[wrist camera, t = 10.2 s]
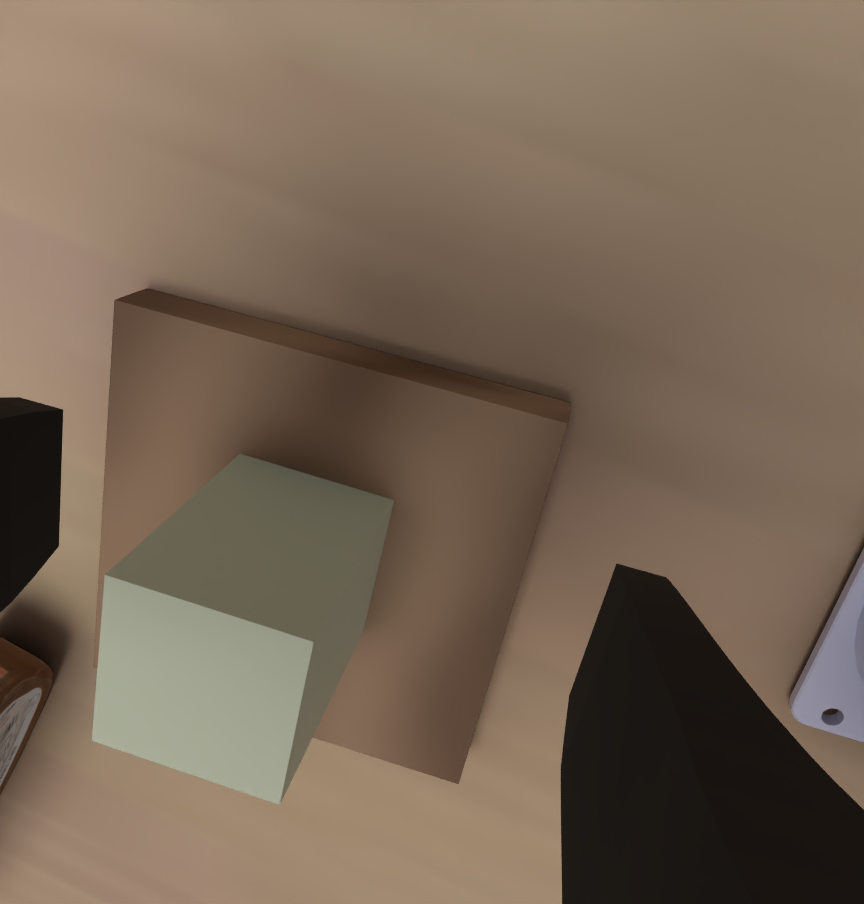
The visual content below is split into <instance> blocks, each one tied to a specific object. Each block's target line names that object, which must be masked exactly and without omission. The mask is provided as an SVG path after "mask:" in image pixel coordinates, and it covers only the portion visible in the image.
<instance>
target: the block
mask: <svg viewBox="0 0 864 904" xmlns="http://www.w3.org/2000/svg"><path fill="white" fill-rule="evenodd" d="M393 504H394V500H392V499H389V498H385V497H382V496H379V495H375V494H372V493H369V492H366V491H362V490H359V489H356V488H352V487H349V486H346V485H342V484H339V483H336V482H332V481H329V480H326V479H323V478H319V477H316V476H313V475H309V474H306V473H303V472H299V471H296V470H293V469H289V468H286V467H283V466H279V465H276V464H273V463H270V462H266V461H263V460H260V459H256V458H253V457H250V456H246V455H243V454H239V455H238V456H237V457H236V458H235V459H234V460H232V461H231V462H230V463H229V464H228V465H227V466H226V467H225V468H223V469H222V470H221V471H220V472H219V473H218V474H217V475H216V476H215V477H213V478H212V479H211V480H210V481H209V482H208V483H207V484H206V485H204V486H203V487H202V488H201V489H200V490H199V491H198V492H197V493H196V494H194V495H193V496H192V497H191V498H190V499H189V500H188V501H187V502H185V503H184V504H183V505H182V506H181V507H180V508H179V509H178V510H177V511H175V512H174V513H173V514H172V515H171V516H170V517H169V518H168V519H167V520H165V521H164V522H163V523H162V524H161V525H160V526H159V527H158V528H156V529H155V530H154V531H153V532H152V533H151V534H150V535H149V536H148V537H146V538H145V539H144V540H143V541H142V542H141V543H140V544H139V545H137V546H136V547H135V548H134V549H133V550H132V551H131V552H130V553H129V554H127V555H126V556H125V557H124V558H123V559H122V560H121V561H120V562H118V563H117V564H116V565H115V566H114V567H113V568H112V569H111V570H110V571H108V572H107V573H106V574H105V578H104V591H103V604H102V617H101V630H100V642H99V655H98V668H97V681H96V694H95V707H94V720H93V733H92V741H94V742H97V743H100V744H103V745H106V746H109V747H112V748H115V749H118V750H121V751H124V752H126V753H129V754H132V755H135V756H138V757H141V758H144V759H147V760H150V761H153V762H156V763H159V764H161V765H164V766H167V767H170V768H173V769H176V770H179V771H182V772H185V773H188V774H191V775H194V776H197V777H199V778H202V779H205V780H208V781H211V782H214V783H217V784H220V785H223V786H226V787H229V788H232V789H234V790H237V791H240V792H243V793H246V794H249V795H252V796H255V797H258V798H261V799H264V800H267V801H269V802H272V803H275V804H278V805H280V803H281V801H282V799H283V797H284V795H285V793H286V791H287V789H288V787H289V785H290V782H291V780H292V778H293V776H294V774H295V772H296V770H297V768H298V766H299V764H300V762H301V760H302V758H303V756H304V753H305V751H306V749H307V747H308V745H309V743H310V741H311V739H312V737H313V735H314V733H315V731H316V729H317V727H318V724H319V722H320V720H321V718H322V716H323V714H324V712H325V710H326V708H327V706H328V704H329V702H330V700H331V698H332V696H333V693H334V691H335V689H336V687H337V685H338V683H339V681H340V679H341V677H342V675H343V673H344V671H345V669H346V667H347V664H348V662H349V660H350V658H351V656H352V654H353V652H354V650H355V648H356V646H357V644H358V642H359V640H360V638H361V635H362V633H363V630H364V626H365V622H366V618H367V613H368V609H369V605H370V601H371V596H372V592H373V588H374V584H375V580H376V575H377V571H378V567H379V563H380V558H381V554H382V550H383V546H384V542H385V537H386V533H387V529H388V525H389V521H390V516H391V512H392V508H393Z"/></svg>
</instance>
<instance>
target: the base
mask: <svg viewBox="0 0 864 904" xmlns="http://www.w3.org/2000/svg"><path fill="white" fill-rule="evenodd" d="M570 406H571V403H569V402H566V401H562V400H558V399H554V398H551V397H547V396H543V395H540V394H536V393H532V392H529V391H525V390H521V389H517V388H514V387H510V386H506V385H503V384H499V383H495V382H492V381H488V380H484V379H480V378H477V377H473V376H469V375H466V374H462V373H458V372H455V371H451V370H447V369H443V368H440V367H436V366H432V365H429V364H425V363H421V362H418V361H414V360H410V359H406V358H403V357H399V356H395V355H392V354H388V353H384V352H380V351H377V350H373V349H369V348H366V347H362V346H358V345H355V344H351V343H347V342H343V341H340V340H336V339H332V338H329V337H325V336H321V335H318V334H314V333H310V332H306V331H303V330H299V329H295V328H292V327H288V326H284V325H281V324H277V323H273V322H269V321H266V320H262V319H258V318H255V317H251V316H247V315H244V314H240V313H236V312H232V311H229V310H225V309H221V308H218V307H214V306H210V305H207V304H203V303H199V302H195V301H192V300H188V299H184V298H181V297H177V296H173V295H170V294H166V293H162V292H158V291H155V290H151V289H144V290H141V291H138V292H135V293H133V294H130V295H127V296H124V297H121V298H119V299H116V300H115V301H114V319H113V336H112V353H111V370H110V388H109V405H108V422H107V439H106V457H105V474H104V491H103V508H102V526H101V543H100V560H99V578H98V595H97V612H96V629H95V647H94V664H93V667H95V668H98V655H99V642H100V630H101V617H102V604H103V591H104V578H105V574H106V573H107V572H108V571H110V570H111V569H112V568H113V567H114V566H115V565H116V564H117V563H118V562H120V561H121V560H122V559H123V558H124V557H125V556H126V555H127V554H129V553H130V552H131V551H132V550H133V549H134V548H135V547H136V546H137V545H139V544H140V543H141V542H142V541H143V540H144V539H145V538H146V537H148V536H149V535H150V534H151V533H152V532H153V531H154V530H155V529H156V528H158V527H159V526H160V525H161V524H162V523H163V522H164V521H165V520H167V519H168V518H169V517H170V516H171V515H172V514H173V513H174V512H175V511H177V510H178V509H179V508H180V507H181V506H182V505H183V504H184V503H185V502H187V501H188V500H189V499H190V498H191V497H192V496H193V495H194V494H196V493H197V492H198V491H199V490H200V489H201V488H202V487H203V486H204V485H206V484H207V483H208V482H209V481H210V480H211V479H212V478H213V477H215V476H216V475H217V474H218V473H219V472H220V471H221V470H222V469H223V468H225V467H226V466H227V465H228V464H229V463H230V462H231V461H232V460H234V459H235V458H236V457H237V456H238V455H239V454H243V455H246V456H250V457H253V458H256V459H260V460H263V461H266V462H270V463H273V464H276V465H279V466H283V467H286V468H289V469H293V470H296V471H299V472H303V473H306V474H309V475H313V476H316V477H319V478H323V479H326V480H329V481H332V482H336V483H339V484H342V485H346V486H349V487H352V488H356V489H359V490H362V491H366V492H369V493H372V494H375V495H379V496H382V497H385V498H389V499H392V500H394V504H393V508H392V512H391V516H390V521H389V525H388V529H387V533H386V537H385V542H384V546H383V550H382V554H381V558H380V563H379V567H378V571H377V575H376V580H375V584H374V588H373V592H372V596H371V601H370V605H369V609H368V613H367V618H366V622H365V626H364V630H363V633H362V635H361V638H360V640H359V642H358V644H357V646H356V648H355V650H354V652H353V654H352V656H351V658H350V660H349V662H348V664H347V667H346V669H345V671H344V673H343V675H342V677H341V679H340V681H339V683H338V685H337V687H336V689H335V691H334V693H333V696H332V698H331V700H330V702H329V704H328V706H327V708H326V710H325V712H324V714H323V716H322V718H321V720H320V722H319V724H318V727H317V729H316V731H315V733H314V735H313V738H316V739H320V740H323V741H326V742H329V743H332V744H335V745H338V746H341V747H344V748H348V749H351V750H354V751H357V752H360V753H363V754H366V755H369V756H372V757H376V758H379V759H382V760H385V761H388V762H391V763H394V764H397V765H401V766H404V767H407V768H410V769H413V770H416V771H419V772H422V773H425V774H429V775H432V776H435V777H438V778H441V779H444V780H447V781H450V782H453V783H457V784H459V781H460V778H461V774H462V771H463V768H464V764H465V761H466V758H467V755H468V751H469V748H470V745H471V741H472V738H473V735H474V732H475V728H476V725H477V722H478V718H479V715H480V712H481V708H482V705H483V702H484V699H485V695H486V692H487V689H488V685H489V682H490V679H491V676H492V672H493V669H494V666H495V662H496V659H497V656H498V653H499V649H500V646H501V643H502V639H503V636H504V633H505V630H506V626H507V623H508V620H509V616H510V613H511V610H512V607H513V603H514V600H515V597H516V593H517V590H518V587H519V584H520V580H521V577H522V574H523V570H524V567H525V564H526V561H527V557H528V554H529V551H530V547H531V544H532V541H533V538H534V534H535V531H536V528H537V524H538V521H539V518H540V515H541V511H542V508H543V505H544V501H545V498H546V495H547V492H548V488H549V485H550V482H551V478H552V475H553V472H554V469H555V465H556V462H557V459H558V455H559V452H560V449H561V446H562V442H563V439H564V436H565V432H566V429H567V426H568V421H569V414H570Z"/></svg>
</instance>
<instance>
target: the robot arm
mask: <svg viewBox="0 0 864 904" xmlns="http://www.w3.org/2000/svg"><path fill="white" fill-rule="evenodd" d="M62 426H63V410H62V409H59V408H55V407H52V406H48V405H44V404H41V403H37V402H34V401H30V400H26V399H23V398H19V397H17V398H0V612H1V611H2V610H4V609H5V608H6V607H7V606H8V605H9V604H10V603H11V602H12V601H13V600H14V599H15V597H16V596H17V595H18V594H19V593H20V592H21V591H22V590H23V588H24V587H25V586H26V585H27V584H28V583H29V582H30V581H31V579H32V578H33V577H34V576H35V575H36V573H37V572H38V571H39V570H40V569H41V567H42V566H43V565H44V564H45V562H46V561H47V560H48V559H49V557H50V556H51V555H52V554H53V553H54V551H55V550H56V549H57V548H58V546H59V522H60V490H61V458H62ZM789 705H790V708H791V712H792V715H793V717H794V718H795V719H796V720H797V721H798V722H800V723H802V724H804V725H807V726H810V727H813V728H817V729H820V730H823V731H827V732H830V733H833V734H837V735H840V736H843V737H847V738H850V739H853V740H857V741H860V742H863V743H864V548H863V550H862V552H861V554H860V556H859V558H858V560H857V563H856V565H855V567H854V569H853V571H852V573H851V575H850V577H849V579H848V581H847V583H846V585H845V587H844V589H843V591H842V593H841V595H840V597H839V599H838V601H837V603H836V605H835V607H834V609H833V611H832V613H831V615H830V617H829V619H828V621H827V623H826V625H825V627H824V629H823V631H822V633H821V635H820V637H819V639H818V641H817V643H816V645H815V647H814V649H813V651H812V653H811V655H810V657H809V659H808V661H807V663H806V666H805V668H804V670H803V672H802V674H801V676H800V678H799V680H798V682H797V684H796V686H795V688H794V690H793V692H792V694H791V696H790V700H789ZM831 708H833V709H838V710H839V711H838V712H837V713H836V714H833V715H824V714H822V713H823V712H824V711H825V710H828V709H831ZM561 845H562V904H864V810H863V809H862V808H861V807H860V806H859V805H858V804H857V803H856V802H855V801H854V800H853V799H852V798H851V797H850V796H849V795H848V794H847V793H846V792H845V791H844V790H843V789H842V788H841V787H840V786H839V785H838V784H837V783H836V782H835V781H834V780H833V779H832V778H831V777H830V776H829V775H828V774H827V773H826V772H825V771H824V770H823V769H822V768H821V767H820V766H819V765H818V764H817V763H816V761H815V760H814V759H813V758H812V757H811V756H810V755H809V754H808V753H807V752H806V751H805V749H804V748H803V747H802V746H801V745H800V744H799V743H798V742H797V740H796V739H795V738H794V737H793V736H792V735H791V734H790V732H789V731H788V730H787V729H786V728H785V727H784V726H783V725H782V723H781V722H780V721H779V720H778V719H777V718H776V717H775V715H774V714H773V713H772V712H771V711H770V710H769V708H768V707H767V706H766V705H765V704H764V702H763V701H762V700H761V699H760V698H759V696H758V695H757V694H756V693H755V691H754V690H753V689H752V688H751V687H750V685H749V684H748V683H747V682H746V680H745V679H744V678H743V677H742V675H741V674H740V673H739V671H738V670H737V669H736V668H735V666H734V665H733V664H732V662H731V661H730V660H729V659H728V657H727V656H726V655H725V653H724V652H723V651H722V649H721V648H720V647H719V645H718V644H717V643H716V641H715V640H714V639H713V637H712V636H711V635H710V633H709V632H708V631H707V629H706V628H705V627H704V625H703V624H702V623H701V621H700V620H699V619H698V617H697V616H696V615H695V613H694V612H693V610H692V609H691V608H690V606H689V605H688V604H687V602H686V601H685V600H684V598H683V597H682V596H681V594H680V593H679V592H678V591H677V589H676V588H675V587H674V586H673V584H672V583H671V582H670V581H669V580H668V579H667V578H666V577H663V576H659V575H655V574H652V573H648V572H645V571H641V570H637V569H634V568H630V567H627V566H623V565H620V564H616V567H615V569H614V572H613V575H612V578H611V581H610V583H609V586H608V589H607V592H606V595H605V597H604V600H603V603H602V606H601V609H600V611H599V614H598V617H597V620H596V623H595V625H594V628H593V631H592V634H591V637H590V639H589V642H588V645H587V648H586V651H585V653H584V656H583V659H582V662H581V664H580V667H579V670H578V673H577V676H576V678H575V681H574V684H573V687H572V690H571V692H570V695H569V703H568V711H567V719H566V727H565V735H564V744H563V753H562V762H561Z"/></svg>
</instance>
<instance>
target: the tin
mask: <svg viewBox="0 0 864 904" xmlns="http://www.w3.org/2000/svg"><path fill="white" fill-rule="evenodd" d="M52 681H53V672H52V670H51V669H50V667H49V666H48V665H47V664H45V663H44V662H43V661H41V660H40V659H38V658H37V657H35V656H33V655H32V654H30V653H28V652H27V651H25V650H23V649H21V648H19V647H18V646H16V645H14V644H12V643H10V642H9V641H7V640H5V639H3V638H1V637H0V793H1V791H2V789H3V787H4V786H5V784H6V782H7V780H8V778H9V776H10V774H11V772H12V770H13V768H14V766H15V764H16V762H17V760H18V758H19V756H20V754H21V752H22V750H23V748H24V746H25V744H26V741H27V739H28V737H29V735H30V733H31V731H32V729H33V727H34V725H35V723H36V721H37V719H38V717H39V715H40V713H41V710H42V708H43V706H44V704H45V702H46V699H47V697H48V694H49V691H50V689H51V686H52Z"/></svg>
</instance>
